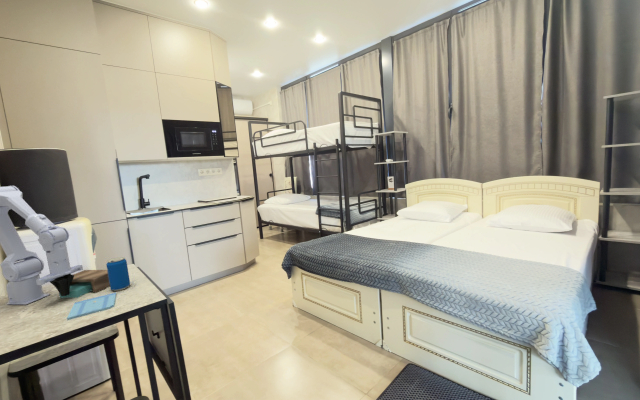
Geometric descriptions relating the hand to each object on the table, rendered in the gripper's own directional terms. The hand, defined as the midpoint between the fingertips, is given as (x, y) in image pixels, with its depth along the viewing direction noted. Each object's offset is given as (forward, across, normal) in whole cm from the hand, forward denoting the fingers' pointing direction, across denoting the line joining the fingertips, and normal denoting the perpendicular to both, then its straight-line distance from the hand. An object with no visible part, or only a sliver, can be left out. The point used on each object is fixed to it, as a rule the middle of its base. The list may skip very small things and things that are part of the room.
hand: (65, 295), depth 104 cm
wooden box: (+1, +10, 0) cm, 10 cm away
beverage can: (+2, +9, -15) cm, 18 cm away
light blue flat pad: (+2, -5, -18) cm, 19 cm away
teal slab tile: (+2, +6, 0) cm, 6 cm away
